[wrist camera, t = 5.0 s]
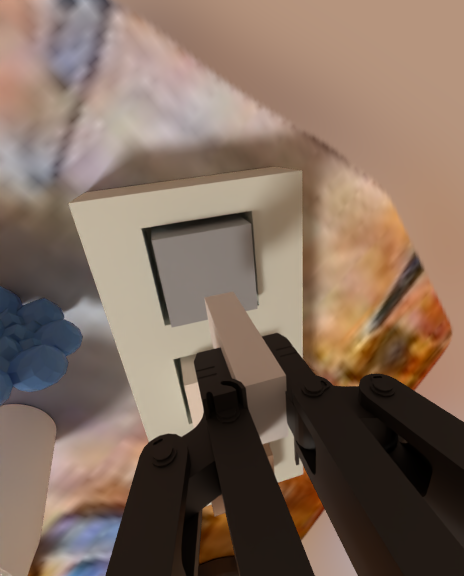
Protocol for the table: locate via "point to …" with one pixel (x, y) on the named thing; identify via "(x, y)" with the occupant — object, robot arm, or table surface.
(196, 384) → the ivory key
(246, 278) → the slate key
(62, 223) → the table surface
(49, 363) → the grapes
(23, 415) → the cup
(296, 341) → the key panel
